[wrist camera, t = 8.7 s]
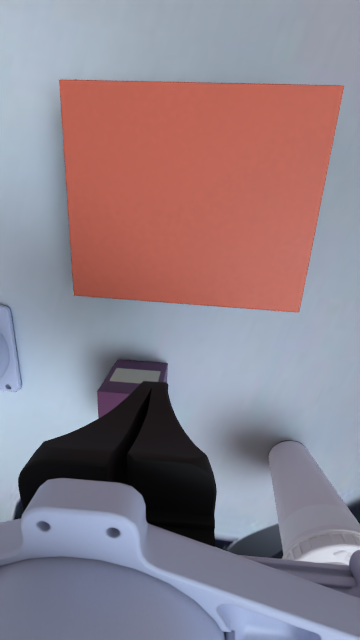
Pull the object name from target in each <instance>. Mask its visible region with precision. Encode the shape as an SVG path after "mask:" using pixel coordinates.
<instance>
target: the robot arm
mask: <svg viewBox="0 0 360 640" xmlns="http://www.w3.org/2000/svg"><path fill="white" fill-rule="evenodd" d="M8 384H9V385H10V386H11V387H10V386H9V385H8ZM20 389H21V379H20V372H19V365H18V358H17V351H16V344H15V337H14V330H13V323H12V316H11V311H10V309H9V308H8V307H7V306H2V305H0V391H10V392H17V391H19V390H20ZM18 486H19V492H20V497H21V503H22V508H23V513H22V515H21V516H20V518H19V519H17V520H11V521H6V522H1V523H0V640H360V550H357V551H355V552H354V553H353V554H352V556H351V558H350V561H349V566H348V565H338V564H327V563H316V562H306V561H295V560H285V559H274V558H263V557H253V556H242V555H235V554H233V553H230V552H227V551H224V550H221V549H219V548H216V547H215V536H214V528H215V520H214V511H215V502H216V483H215V478H214V475H213V471H212V468H211V465H210V462H209V460H208V457H207V455H206V454H205V453H203V452H202V451H201V450H200V449H199V448H198V447H197V446H196V445H195V444H194V443H193V442H192V441H191V440H190V438H189V437H188V436H187V434H186V433H185V432H184V430H183V428H182V427H181V425H180V423H179V422H178V420H177V418H176V416H175V413H174V411H173V409H172V406H171V403H170V399H169V395H168V384H167V383H166V382H152V381H143V382H142V383H141V384H140V385H139V386H138V387H137V388H136V389H135V390H134V391H133V392H132V393H131V394H130V395H129V396H127V397H126V398H125V399H124V400H123V401H122V402H121V403H120V404H118V405H117V406H116V407H115V408H114V409H112V410H111V411H110V412H108V413H107V414H105V415H104V416H102V417H101V418H99V419H97V420H95V421H94V422H92V423H90V424H88V425H86V426H84V427H82V428H80V429H78V430H76V431H73V432H71V433H68V434H66V435H63V436H60V437H57V438H54V439H51V440H48V441H44V442H43V443H42V445H41V446H40V447H39V448H38V449H37V450H36V452H35V453H34V454H33V456H32V457H31V458H30V460H29V461H28V463H27V464H26V465H25V467H24V468H23V469H22V471H21V472H20V475H19V478H18Z"/></svg>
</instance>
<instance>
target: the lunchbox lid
mask: <svg viewBox="0 0 360 640" xmlns="http://www.w3.org/2000/svg"><path fill="white" fill-rule="evenodd" d="M59 83H60V98H61V113H62V127H63V142H64V157H65V172H66V187H67V201H68V216H69V231H70V246H71V261H72V275H73V290H74V295H75V296H87V297H100V298H113V299H127V300H140V301H153V302H166V303H180V304H193V305H206V306H220V307H233V308H246V309H259V310H273V311H286V312H299V311H300V305H301V300H302V295H303V290H304V285H305V280H306V275H307V270H308V265H309V260H310V255H311V250H312V245H313V240H314V235H315V230H316V225H317V220H318V215H319V210H320V205H321V200H322V195H323V190H324V185H325V179H326V174H327V169H328V164H329V159H330V154H331V149H332V144H333V139H334V134H335V129H336V124H337V119H338V114H339V109H340V104H341V99H342V94H343V89H344V86H339V85H291V84H244V83H196V82H149V81H102V80H59Z"/></svg>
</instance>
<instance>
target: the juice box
mask: <svg viewBox="0 0 360 640" xmlns="http://www.w3.org/2000/svg"><path fill="white" fill-rule="evenodd" d="M167 367H168V364H167V363H157V362H144V361H131V360H119V359H118V360H117V361H116V362H115V364H114V366H113V367H112V369H111V370H110V372H109V374H108V375H107V377H106V378H105V380H104V381H103V383H102V385H101V386H100V388H99V389H98V391H97V394H98V416H99V418H101V417H102V416H104V415H105V414H107V413H108V412H110V411H111V410H112V409H114V408H115V407H116V406H117V405H118V404H120V403H121V402H122V401H123V400H124V399H125V398H126V397H127V396H129V395H130V394H131V393H132V392H133V391H134V390H135V389H136V388H137V387H138V386H139V385H140V384H141V383H142V382H143V381H152V382H166V383H167Z"/></svg>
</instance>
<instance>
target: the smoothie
mask: <svg viewBox="0 0 360 640" xmlns="http://www.w3.org/2000/svg"><path fill="white" fill-rule="evenodd" d="M269 465H270V471H271V477H272V484H273V490H274V496H275V503H276V509H277V515H278V522H279V528H280V534H281V541H282V547H283V553H284V555H283V557H282V559H285V560H295V561H306V562H316V563H327V564H338V565H348V566H349V561H350V558H351V556H352V554H353V553H354V552H355V551H357V550H360V524H359V523H358V521H357V520H356V518H355V517H354V516H353V514H352V513H351V511H350V510H349V509H348V507H347V506H346V504H345V503H344V501H343V500H342V499H341V497H340V496H339V494H338V493H337V491H336V490H335V489H334V487H333V486H332V484H331V483H330V481H329V480H328V479H327V477H326V476H325V474H324V473H323V471H322V470H321V469H320V467H319V466H318V464H317V463H316V461H315V460H314V458H313V457H312V456H311V454H310V453H309V451H308V450H307V448H306V447H305V446H304V445H302V444H301V443H299V442H295V441H284V442H281V443H279V444H277V445H275V446H274V447H273V448H272V449H271V451H270V453H269Z"/></svg>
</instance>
